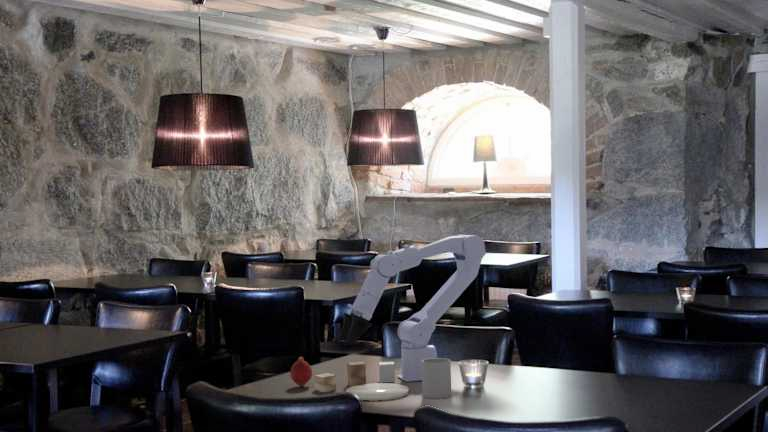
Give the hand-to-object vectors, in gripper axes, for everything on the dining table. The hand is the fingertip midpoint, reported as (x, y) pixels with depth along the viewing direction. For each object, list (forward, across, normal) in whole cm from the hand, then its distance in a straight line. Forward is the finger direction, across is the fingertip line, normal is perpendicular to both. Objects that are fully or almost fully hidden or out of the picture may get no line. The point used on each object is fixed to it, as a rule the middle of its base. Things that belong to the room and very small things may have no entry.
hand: (346, 341), depth 262 cm
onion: (+16, -5, -4) cm, 17 cm away
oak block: (+14, +2, 0) cm, 14 cm away
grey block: (+4, -2, +16) cm, 17 cm away
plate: (+9, +13, +10) cm, 18 cm away
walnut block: (+9, 0, +8) cm, 12 cm away
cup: (+2, +21, +22) cm, 31 cm away
